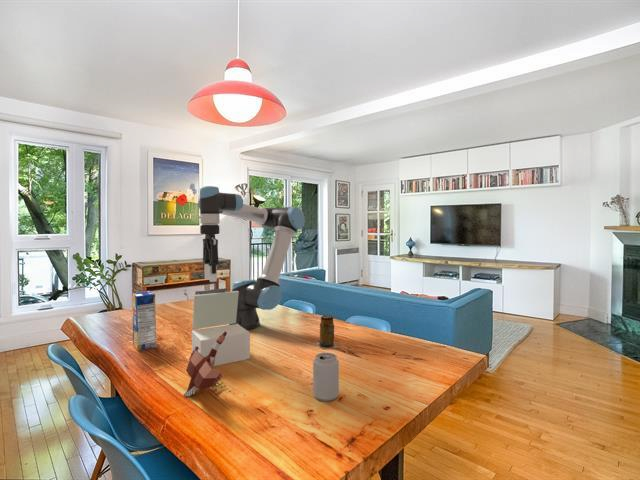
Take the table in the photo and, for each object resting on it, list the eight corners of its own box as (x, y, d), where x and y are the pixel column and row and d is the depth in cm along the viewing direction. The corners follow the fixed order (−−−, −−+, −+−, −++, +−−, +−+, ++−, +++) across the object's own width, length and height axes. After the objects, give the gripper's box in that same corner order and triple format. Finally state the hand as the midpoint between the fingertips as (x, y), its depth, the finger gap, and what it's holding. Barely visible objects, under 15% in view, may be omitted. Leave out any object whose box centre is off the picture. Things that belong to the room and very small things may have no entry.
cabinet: (237, 347, 144) (237, 323, 143) (250, 358, 132) (249, 332, 131) (191, 356, 134) (191, 330, 134) (201, 368, 122) (200, 340, 122)
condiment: (331, 341, 152) (331, 314, 152) (339, 347, 144) (339, 318, 144) (315, 343, 150) (315, 315, 149) (322, 349, 142) (322, 320, 141)
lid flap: (235, 323, 143) (228, 312, 151) (238, 291, 140) (231, 282, 147) (192, 329, 134) (187, 318, 142) (194, 296, 131) (189, 286, 138)
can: (312, 390, 106) (312, 351, 105) (337, 389, 106) (337, 350, 106) (314, 403, 98) (314, 360, 98) (340, 401, 99) (340, 360, 99)
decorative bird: (262, 387, 100) (242, 343, 96) (202, 430, 91) (178, 383, 88) (229, 357, 124) (213, 320, 120) (179, 388, 115) (160, 350, 111)
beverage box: (137, 350, 140) (136, 296, 140) (133, 343, 149) (132, 292, 148) (156, 347, 144) (155, 294, 144) (150, 340, 153) (149, 290, 153)
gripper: (194, 224, 149) (195, 278, 150) (207, 224, 133) (207, 284, 133) (212, 224, 153) (213, 276, 154) (226, 224, 137) (227, 282, 137)
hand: (210, 280), depth 144 cm, fingers open, 7 cm apart
